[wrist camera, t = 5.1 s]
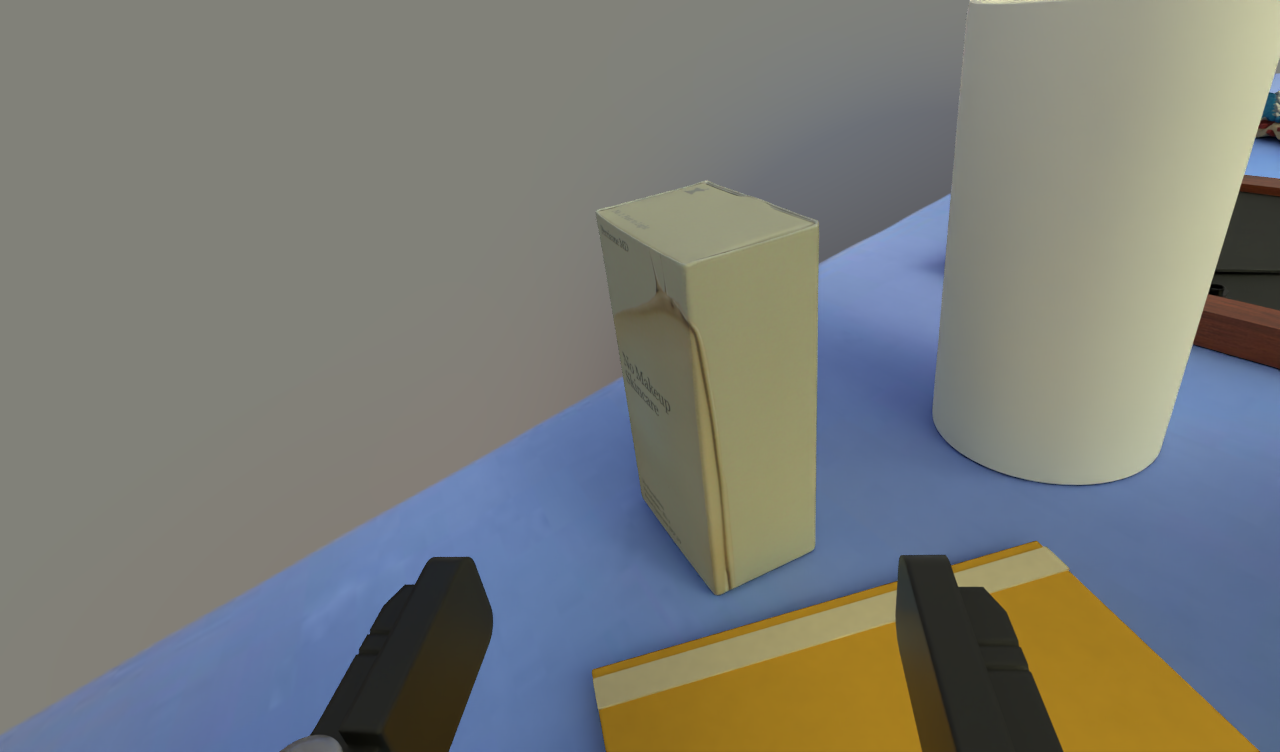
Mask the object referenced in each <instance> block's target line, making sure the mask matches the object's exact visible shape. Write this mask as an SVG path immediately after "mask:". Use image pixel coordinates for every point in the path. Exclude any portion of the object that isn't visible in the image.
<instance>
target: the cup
mask: <svg viewBox="0 0 1280 752" xmlns="http://www.w3.org/2000/svg"><path fill="white" fill-rule="evenodd" d="M1279 57H1280V0H969V5H968V10H967V18H966V28H965V40H964V50H963V62H962V73H961V84H960V95H959V107H958V119H957V130H956V142H955V154H954V165H953V177H952V188H951V200H950V212H949V223H948V235H947V246H946V258H945V270H944V281H943V293H942V304H941V316H940V328H939V339H938V351H937V363H936V374H935V386H934V397H933V409H932V414H933V420H934V424H935V426H936V428H937V430H938V431H939V433H940V434H941V436H942V437H943V438H944V439H945V440H946V441H947V442H948V443H949V444H950V445H951V446H952V447H953V448H955V449H956V450H957V451H959V452H960V453H961V454H963V455H964V456H966V457H968V458H970V459H971V460H973V461H975V462H977V463H979V464H981V465H983V466H985V467H988V468H990V469H993V470H995V471H998V472H1001V473H1004V474H1007V475H1011V476H1014V477H1018V478H1022V479H1026V480H1031V481H1037V482H1043V483H1051V484H1063V485H1088V484H1099V483H1106V482H1112V481H1116V480H1120V479H1123V478H1126V477H1129V476H1132V475H1134V474H1136V473H1138V472H1140V471H1142V470H1143V469H1145V468H1147V467H1148V466H1149V465H1150V464H1151V463H1152V462H1153V461H1154V460H1155V459H1156V458H1157V456H1158V454H1159V452H1160V450H1161V447H1162V444H1163V440H1164V437H1165V434H1166V430H1167V427H1168V424H1169V420H1170V417H1171V414H1172V411H1173V407H1174V404H1175V401H1176V397H1177V394H1178V391H1179V388H1180V384H1181V381H1182V378H1183V374H1184V371H1185V368H1186V364H1187V361H1188V358H1189V355H1190V351H1191V348H1192V345H1193V341H1194V338H1195V335H1196V331H1197V328H1198V325H1199V322H1200V318H1201V315H1202V312H1203V308H1204V305H1205V302H1206V298H1207V295H1208V292H1209V289H1210V285H1211V282H1212V279H1213V275H1214V272H1215V269H1216V266H1217V262H1218V259H1219V256H1220V252H1221V249H1222V246H1223V242H1224V239H1225V236H1226V233H1227V229H1228V226H1229V223H1230V219H1231V216H1232V213H1233V209H1234V206H1235V203H1236V200H1237V196H1238V193H1239V190H1240V186H1241V183H1242V180H1243V177H1244V173H1245V170H1246V167H1247V163H1248V160H1249V157H1250V153H1251V150H1252V147H1253V144H1254V140H1255V137H1256V134H1257V130H1258V127H1259V124H1260V120H1261V117H1262V114H1263V111H1264V107H1265V104H1266V101H1267V97H1268V94H1269V91H1270V88H1271V84H1272V81H1273V78H1274V74H1275V71H1276V67H1277V64H1278V61H1279Z"/></svg>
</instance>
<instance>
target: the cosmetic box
mask: <svg viewBox="0 0 1280 752" xmlns="http://www.w3.org/2000/svg"><path fill="white" fill-rule="evenodd" d="M596 218H597V223H598V228H599V234H600V239H601V246H602V251H603V258H604V263H605V269H606V275H607V281H608V287H609V294H610V299H611V306H612V312H613V318H614V324H615V329H616V335H617V342H618V348H619V355H620V361H621V367H622V373H623V379H624V386H625V392H626V398H627V404H628V411H629V417H630V423H631V430H632V436H633V442H634V448H635V454H636V461H637V467H638V473H639V480H640V486H641V493H642V497H643V499H644V500H645V502H646V503H647V504H648V506H649V507H650V509H651V510H652V511H653V513H654V514H655V516H656V517H657V519H658V520H659V521H660V523H661V524H662V525H663V527H664V528H665V530H666V531H667V532H668V534H669V535H670V536H671V538H672V539H673V540H674V542H675V543H676V544H677V546H678V547H679V549H680V550H681V551H682V553H683V554H684V555H685V557H686V558H687V559H688V561H689V562H690V563H691V565H692V566H693V567H694V569H695V570H696V571H697V573H698V574H699V575H700V576H701V578H702V579H703V580H704V582H705V583H706V584H707V586H708V587H709V588H710V589H711V591H712V592H713V593H714V594H715V595H721V594H723V593H725V592H727V591H729V590H731V589H733V588H736V587H738V586H740V585H742V584H744V583H746V582H748V581H750V580H752V579H755V578H757V577H759V576H761V575H763V574H765V573H767V572H769V571H771V570H774V569H776V568H778V567H780V566H782V565H784V564H786V563H788V562H790V561H792V560H794V559H796V558H798V557H800V556H802V555H804V554H806V553H809V552H811V551H812V550H813V549H814V548H815V515H816V425H817V345H818V263H819V222H818V221H817V220H814V219H811V218H808V217H805V216H802V215H800V214H797V213H794V212H791V211H789V210H787V209H783V208H781V207H778V206H775V205H772V204H771V203H768V202H766V201H763V200H761V199H758V198H755V197H752V196H748V195H745V194H742V193H739V192H736V191H733V190H731V189H728V188H725V187H722V186H720V185H716V184H714V183H712V182H710V181H703V182H700V183H697V184H694V185H690V186H686V187H683V188H679V189H676V190H671V191H668V192H664V193H660V194H656V195H653V196H649V197H645V198H642V199H637V200H633V201H630V202H626V203H623V204H619V205H615V206H611V207H607V208H602V209H599V210H596Z"/></svg>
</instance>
